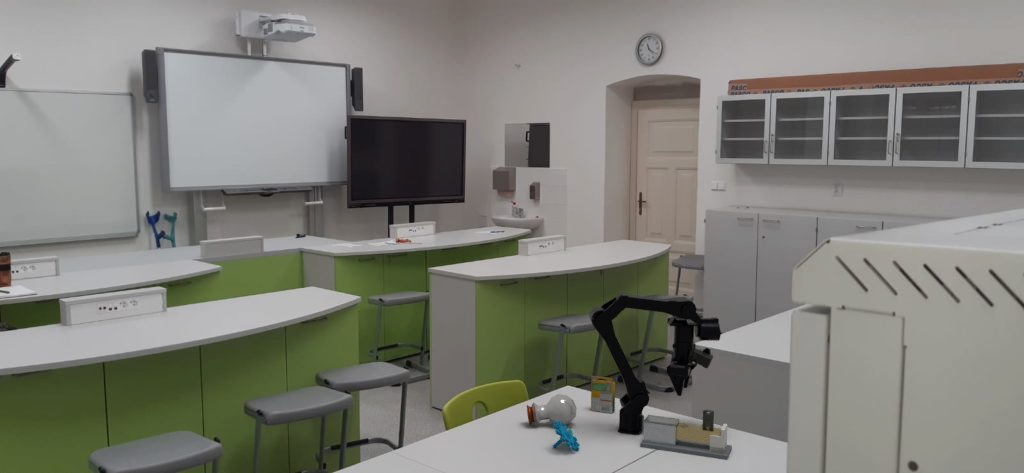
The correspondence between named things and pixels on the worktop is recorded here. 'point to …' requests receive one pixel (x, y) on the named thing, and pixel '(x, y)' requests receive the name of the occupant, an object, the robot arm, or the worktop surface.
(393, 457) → the worktop surface
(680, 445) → the board
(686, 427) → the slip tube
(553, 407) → the potion bottle
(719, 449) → the socket
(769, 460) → the worktop surface
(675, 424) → the sleeve
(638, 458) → the worktop surface
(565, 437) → the gear
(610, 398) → the crayon box
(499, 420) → the worktop surface
